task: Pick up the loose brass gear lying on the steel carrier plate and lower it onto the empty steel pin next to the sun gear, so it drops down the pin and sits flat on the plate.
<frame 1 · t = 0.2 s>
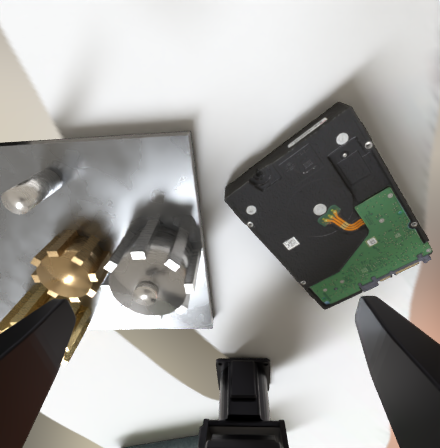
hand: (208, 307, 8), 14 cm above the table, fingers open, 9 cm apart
planter: (188, 442, 47), on the table
brass gear: (58, 310, 29), point 1 cm above the table, touching carrier
carrier: (78, 248, 26), on the table
disk drive: (324, 212, 23), on the table
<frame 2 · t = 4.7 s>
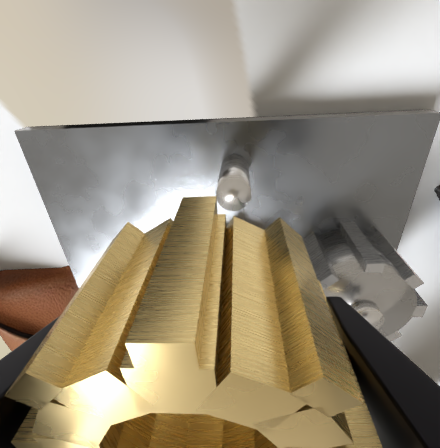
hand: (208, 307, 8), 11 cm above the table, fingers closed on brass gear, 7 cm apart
sunglasses case: (75, 330, 28), on the table
brass gear: (210, 292, 9), point 11 cm above the table, touching gripper
carrier: (224, 254, 21), on the table
when the fingers open (3 cm above the table, at t = 6.6 s): brass gear drops 1 cm, resting on carrier.
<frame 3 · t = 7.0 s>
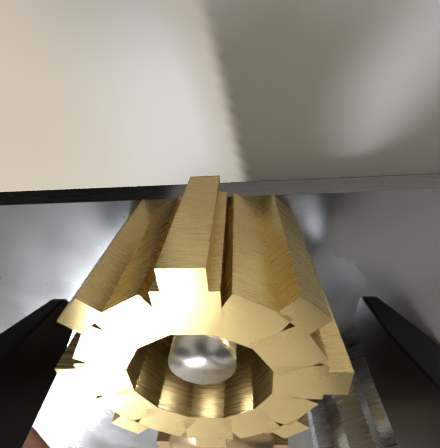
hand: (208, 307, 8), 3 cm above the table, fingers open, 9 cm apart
sunglasses case: (24, 423, 22), on the table
brass gear: (213, 263, 10), point 1 cm above the table, touching carrier
carrier: (207, 354, 15), on the table
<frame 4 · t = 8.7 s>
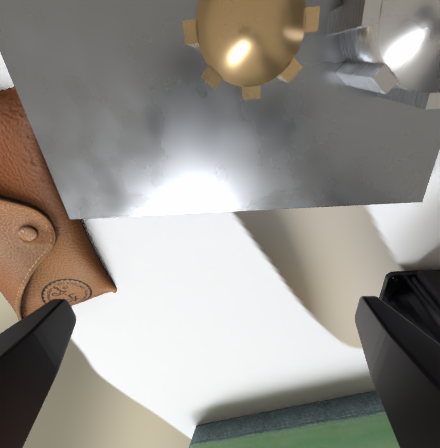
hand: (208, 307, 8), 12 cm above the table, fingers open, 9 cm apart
sunglasses case: (38, 211, 22), on the table
planter: (288, 415, 36), on the table
carrier: (227, 36, 15), on the table
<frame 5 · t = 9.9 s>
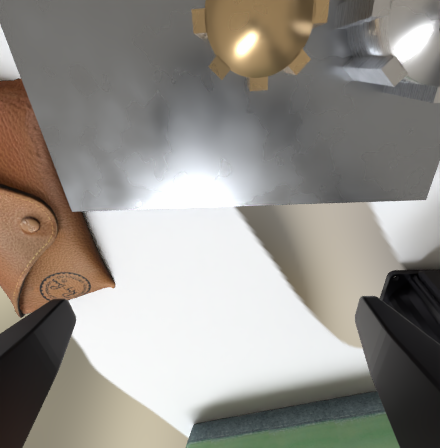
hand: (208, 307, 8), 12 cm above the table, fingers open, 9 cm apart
sunglasses case: (40, 203, 22), on the table
planter: (286, 414, 36), on the table
carrier: (234, 28, 15), on the table
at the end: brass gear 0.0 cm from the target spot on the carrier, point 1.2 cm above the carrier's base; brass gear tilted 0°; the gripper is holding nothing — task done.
